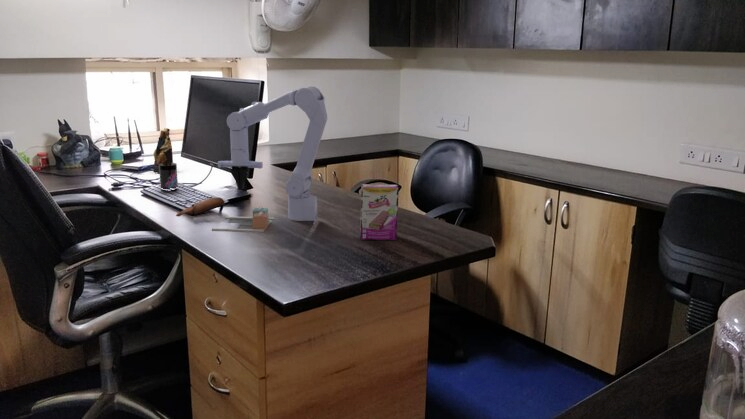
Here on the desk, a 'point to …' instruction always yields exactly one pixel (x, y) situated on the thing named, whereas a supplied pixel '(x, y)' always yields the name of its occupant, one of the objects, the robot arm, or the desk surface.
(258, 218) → the orange block with handle
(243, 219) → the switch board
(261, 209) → the teal handled block
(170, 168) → the supplement container
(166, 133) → the statue
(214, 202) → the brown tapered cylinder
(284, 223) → the desk surface
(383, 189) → the candy bar box
